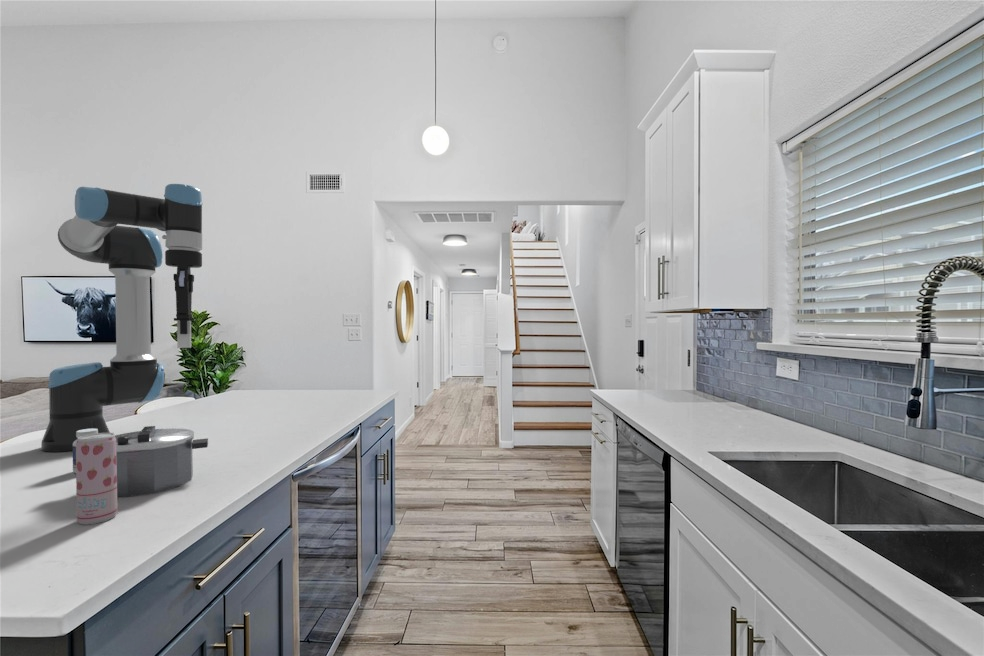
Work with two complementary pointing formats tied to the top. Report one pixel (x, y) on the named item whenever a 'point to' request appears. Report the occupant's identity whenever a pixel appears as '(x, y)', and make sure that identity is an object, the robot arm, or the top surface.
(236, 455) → the top surface
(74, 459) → the pill bottle
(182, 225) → the robot arm
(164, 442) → the lid
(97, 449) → the beverage can
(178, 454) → the pot
